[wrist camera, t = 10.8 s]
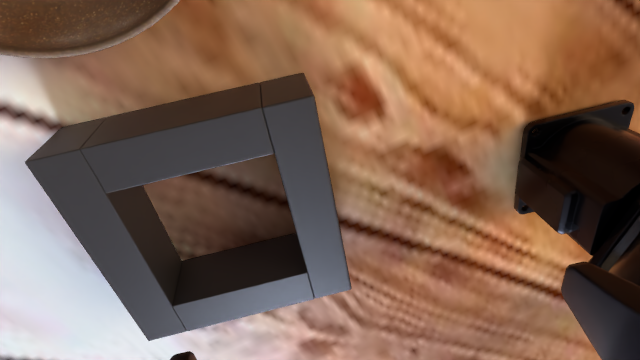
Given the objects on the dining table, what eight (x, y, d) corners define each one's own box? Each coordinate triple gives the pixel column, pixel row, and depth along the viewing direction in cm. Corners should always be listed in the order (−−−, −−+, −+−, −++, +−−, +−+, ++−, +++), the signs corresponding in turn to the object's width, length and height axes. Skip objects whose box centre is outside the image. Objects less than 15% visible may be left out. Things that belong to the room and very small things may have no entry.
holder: (303, 72, 18) (314, 94, 15) (339, 249, 25) (352, 289, 22) (60, 127, 18) (23, 162, 15) (160, 293, 24) (148, 341, 21)
